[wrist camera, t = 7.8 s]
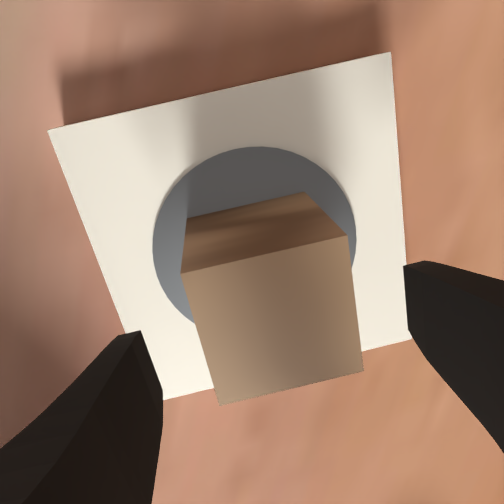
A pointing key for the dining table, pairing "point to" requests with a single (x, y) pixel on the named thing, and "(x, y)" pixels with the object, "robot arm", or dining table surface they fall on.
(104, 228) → the base board
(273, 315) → the walnut block
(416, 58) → the dining table surface
